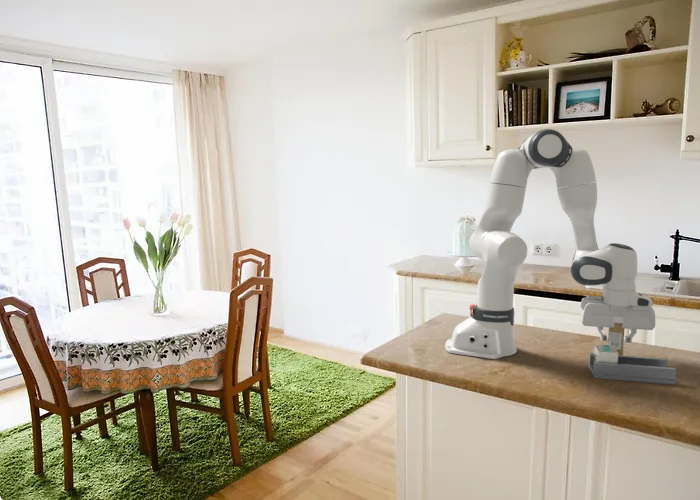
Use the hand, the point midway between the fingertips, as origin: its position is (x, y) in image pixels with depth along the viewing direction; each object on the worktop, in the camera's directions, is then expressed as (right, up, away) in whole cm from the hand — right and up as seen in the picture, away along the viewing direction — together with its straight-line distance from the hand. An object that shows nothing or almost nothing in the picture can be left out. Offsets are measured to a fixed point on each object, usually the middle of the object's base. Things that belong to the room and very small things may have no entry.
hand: (615, 341), depth 160 cm
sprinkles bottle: (0, -5, +1) cm, 5 cm away
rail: (-3, -7, -13) cm, 15 cm away
